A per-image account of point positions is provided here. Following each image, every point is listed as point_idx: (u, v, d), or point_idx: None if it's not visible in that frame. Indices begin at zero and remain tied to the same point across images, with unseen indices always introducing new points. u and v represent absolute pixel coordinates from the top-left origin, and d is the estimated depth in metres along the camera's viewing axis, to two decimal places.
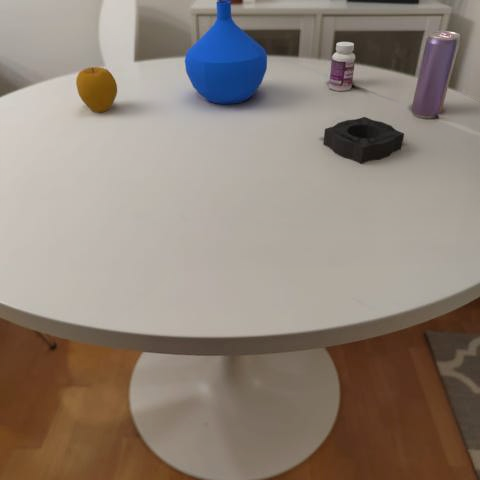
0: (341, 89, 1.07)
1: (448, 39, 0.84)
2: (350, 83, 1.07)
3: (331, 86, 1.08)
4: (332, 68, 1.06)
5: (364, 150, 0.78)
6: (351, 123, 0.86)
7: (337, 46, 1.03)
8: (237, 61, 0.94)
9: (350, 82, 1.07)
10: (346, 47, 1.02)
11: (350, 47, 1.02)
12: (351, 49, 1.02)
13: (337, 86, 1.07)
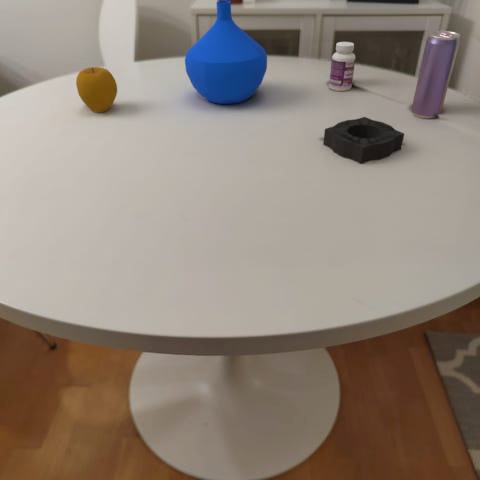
0: (341, 89, 1.07)
1: (448, 39, 0.84)
2: (350, 83, 1.07)
3: (331, 86, 1.08)
4: (332, 68, 1.06)
5: (364, 150, 0.78)
6: (351, 123, 0.86)
7: (337, 46, 1.03)
8: (237, 61, 0.94)
9: (350, 82, 1.07)
10: (346, 47, 1.02)
11: (350, 47, 1.02)
12: (351, 49, 1.02)
13: (337, 86, 1.07)
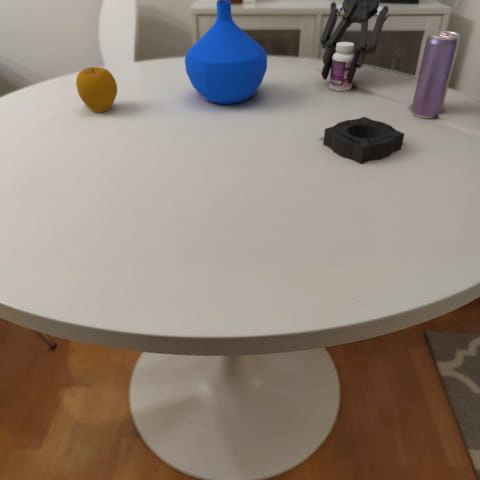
0: (341, 89, 1.07)
1: (448, 39, 0.84)
2: (350, 83, 1.07)
3: (331, 86, 1.08)
4: (332, 68, 1.06)
5: (364, 150, 0.78)
6: (351, 123, 0.86)
7: (337, 46, 1.03)
8: (237, 61, 0.94)
9: None
10: (346, 47, 1.02)
11: (350, 47, 1.02)
12: (351, 49, 1.02)
13: (338, 86, 1.07)
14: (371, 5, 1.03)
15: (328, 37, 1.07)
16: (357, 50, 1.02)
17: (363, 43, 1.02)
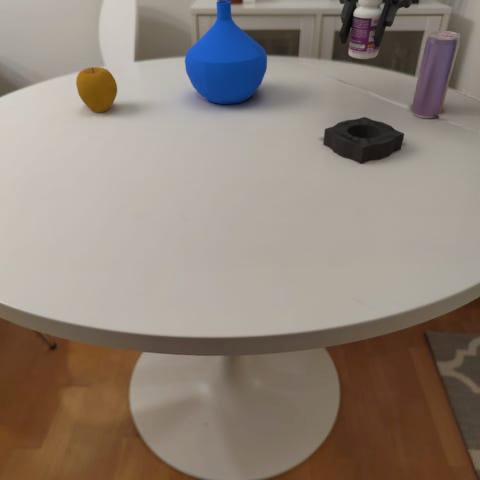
0: (365, 56, 0.82)
1: (448, 39, 0.84)
2: (376, 48, 0.82)
3: (351, 53, 0.83)
4: (353, 28, 0.80)
5: (364, 150, 0.78)
6: (351, 123, 0.86)
7: None
8: (237, 61, 0.94)
9: (376, 47, 0.82)
10: None
11: None
12: (379, 1, 0.77)
13: (360, 52, 0.82)
14: None
15: None
16: (387, 2, 0.77)
17: None
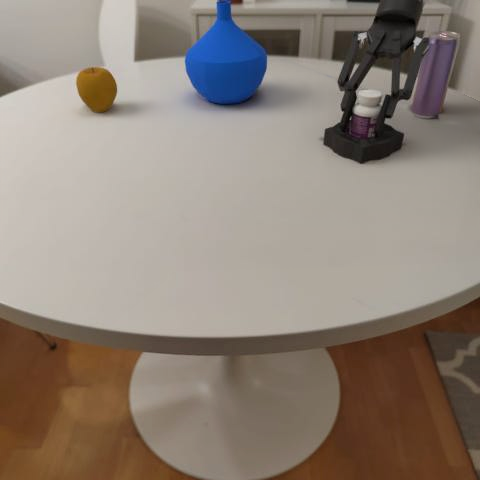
0: None
1: (448, 39, 0.84)
2: None
3: None
4: (352, 123, 0.81)
5: (364, 150, 0.78)
6: None
7: (360, 96, 0.78)
8: (237, 61, 0.94)
9: None
10: (372, 98, 0.77)
11: (377, 98, 0.77)
12: (378, 101, 0.78)
13: None
14: (406, 36, 0.77)
15: (347, 76, 0.82)
16: (387, 96, 0.77)
17: (395, 87, 0.77)
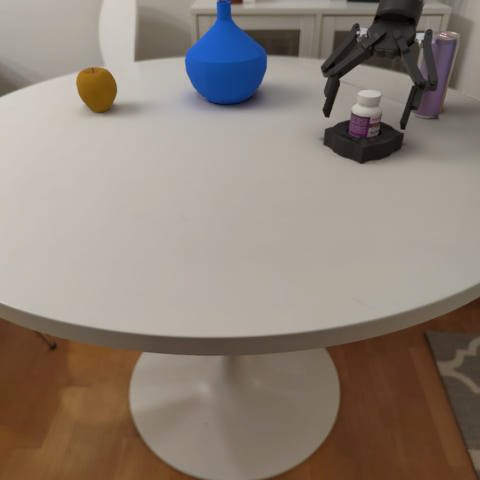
0: None
1: (448, 39, 0.84)
2: None
3: None
4: (352, 123, 0.81)
5: (364, 150, 0.78)
6: None
7: (359, 96, 0.78)
8: (237, 61, 0.94)
9: None
10: (371, 98, 0.77)
11: (376, 98, 0.77)
12: (378, 101, 0.78)
13: None
14: (407, 36, 0.77)
15: (334, 65, 0.83)
16: (414, 87, 0.75)
17: (420, 78, 0.75)
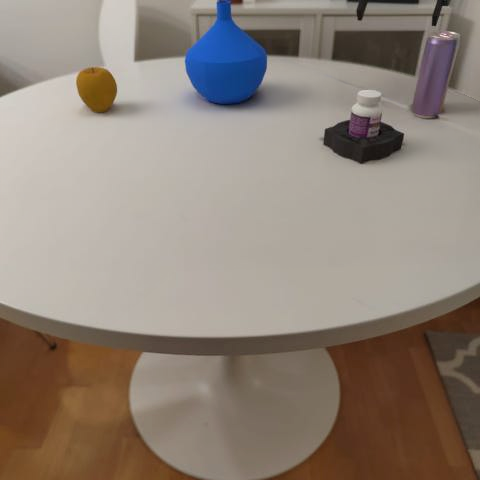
0: None
1: (448, 39, 0.84)
2: None
3: None
4: (352, 123, 0.81)
5: (364, 150, 0.78)
6: None
7: (359, 96, 0.78)
8: (237, 61, 0.94)
9: None
10: (371, 98, 0.77)
11: (377, 98, 0.77)
12: (378, 101, 0.78)
13: None
14: None
15: None
16: None
17: None
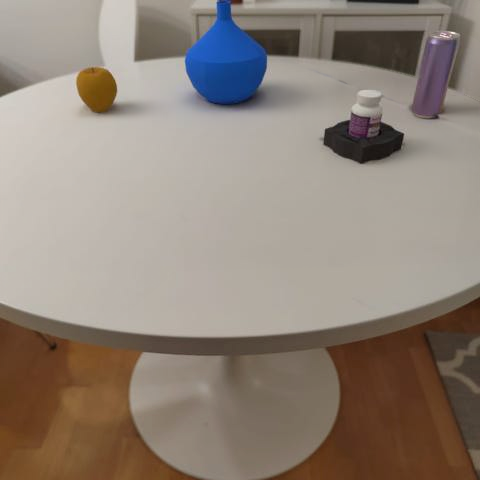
0: None
1: (448, 39, 0.84)
2: None
3: None
4: (352, 123, 0.81)
5: (364, 150, 0.78)
6: None
7: (359, 96, 0.78)
8: (237, 61, 0.94)
9: None
10: (371, 98, 0.77)
11: (377, 98, 0.77)
12: (378, 101, 0.78)
13: None
14: None
15: None
16: None
17: None
